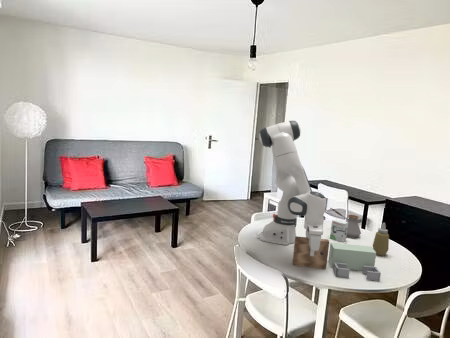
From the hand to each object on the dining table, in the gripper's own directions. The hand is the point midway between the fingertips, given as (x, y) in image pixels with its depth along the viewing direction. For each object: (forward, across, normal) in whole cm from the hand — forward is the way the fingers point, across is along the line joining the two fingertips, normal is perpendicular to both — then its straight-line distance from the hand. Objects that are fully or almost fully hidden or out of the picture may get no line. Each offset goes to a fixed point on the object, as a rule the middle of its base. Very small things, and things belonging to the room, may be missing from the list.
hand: (310, 252), depth 162 cm
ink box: (+7, -42, +23) cm, 48 cm away
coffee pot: (+7, -54, +29) cm, 62 cm away
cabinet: (+7, 0, +21) cm, 22 cm away
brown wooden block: (+7, 0, 0) cm, 7 cm away
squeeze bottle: (+7, -25, +42) cm, 49 cm away
